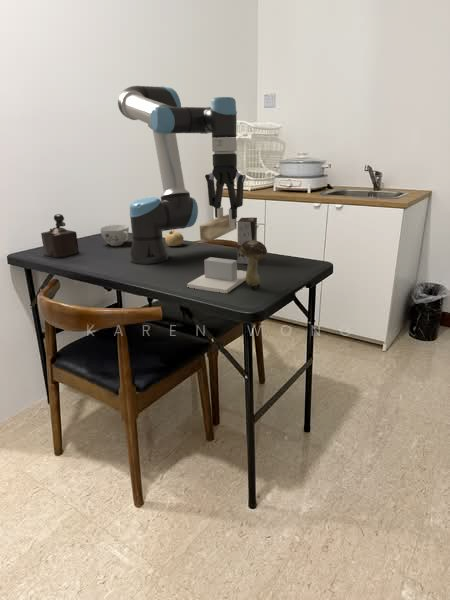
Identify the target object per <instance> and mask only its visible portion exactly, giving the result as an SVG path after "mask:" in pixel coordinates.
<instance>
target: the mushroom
mask: <svg viewBox="0 0 450 600" xmlns="http://www.w3.org/2000/svg"><path fill="white" fill-rule="evenodd" d="M240 251H241V253H242V254H243V255H245V256H247V257H248V264H247V267H246V271H247V272H246V280H245V281H246V285H248V286H249V287H250V288H251V289H252V290H257V289H259V287H261V278H260V275H259V272H258V265H259V261H261V260H264V259H265V258H266V257H267V255H268V250H267V247H266V245H264V243H262V242H261V241H259V240H257V241H256V240H249V241H246V242H244V243H243V244H241V246H240Z"/></svg>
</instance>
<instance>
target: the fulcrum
mask: <svg viewBox="0 0 450 600" xmlns="http://www.w3.org/2000/svg"><path fill="white" fill-rule="evenodd" d="M203 267H204V274H203V275H200V276H199V277H197V278H195V279H193V280H191V281H190V282H188V283H187V284H186V285H187V286H186V287H187V288H188V287H189V289H194V288H195V290H200V291H201V290H202V291H207V292H213V293H219V292H220V293H221V294H225V293H226V294H229V292H231V291H232V290H233V289H235V288H236V287H238V286H240V284H242V283H243V282H245V281H246V272H247V270H240V269H238V259H237V260H235V259H229V258H221V257H220V258H219V257H211V256H209V257H208V258H205V259H204V266H203Z"/></svg>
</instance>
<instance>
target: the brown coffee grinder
mask: <svg viewBox="0 0 450 600" xmlns="http://www.w3.org/2000/svg"><path fill="white" fill-rule="evenodd" d="M53 219H54V221H55V227H52V228H50V229H49V231H45V232H41V233H40V236H41V240H42V247H43V253H44V254H43V255H45V256H48V257H51V258H57V259H58V258H59V259H60V258H64V257H69V256H73V255H78V254H79V253H80V251H79V244H78V236H77V235H78V234H77V231H73V230H69V229H66V228H64V227H65V226H66V222H64V220H65V217H64V215H63V214H60V213H57V214H54V215H53Z"/></svg>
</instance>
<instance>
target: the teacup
mask: <svg viewBox="0 0 450 600" xmlns="http://www.w3.org/2000/svg"><path fill="white" fill-rule="evenodd" d="M99 230H100V234H101V236H102V239H104V241H105V242H106V243H108V244H109V246H111V247H117V246H118V247H119V246H121V245H123V244H124V243H125V242H126V241H128V240H129V237H130V236H129V231H130V230H129V225H127V224H110V225H105V226H102V227H101V228H99Z"/></svg>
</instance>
